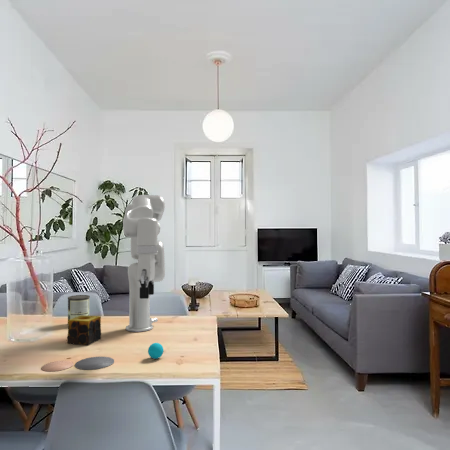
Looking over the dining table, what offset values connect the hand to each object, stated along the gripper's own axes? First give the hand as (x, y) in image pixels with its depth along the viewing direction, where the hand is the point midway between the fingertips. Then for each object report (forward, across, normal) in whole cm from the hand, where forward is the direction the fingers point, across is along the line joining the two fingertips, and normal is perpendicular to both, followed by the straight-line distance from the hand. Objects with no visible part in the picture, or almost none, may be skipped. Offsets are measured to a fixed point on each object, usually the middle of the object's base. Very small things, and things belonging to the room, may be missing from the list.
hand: (146, 296), depth 139 cm
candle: (+22, -19, -30) cm, 42 cm away
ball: (+19, +3, +4) cm, 20 cm away
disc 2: (+22, +8, -16) cm, 29 cm away
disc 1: (+22, +11, -28) cm, 37 cm away
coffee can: (+21, -48, -44) cm, 69 cm away
